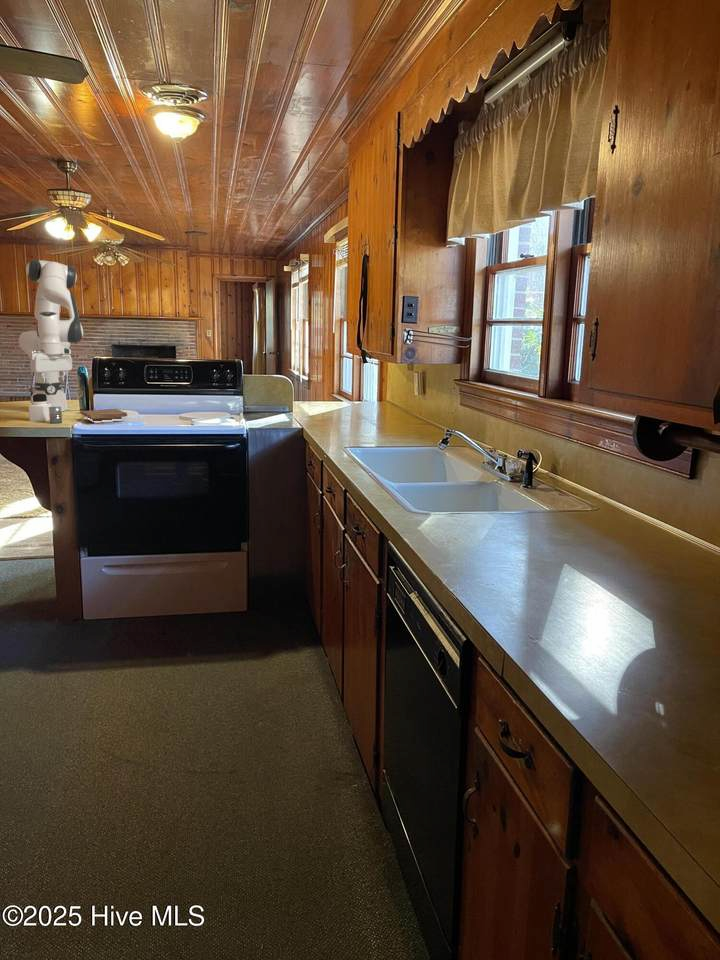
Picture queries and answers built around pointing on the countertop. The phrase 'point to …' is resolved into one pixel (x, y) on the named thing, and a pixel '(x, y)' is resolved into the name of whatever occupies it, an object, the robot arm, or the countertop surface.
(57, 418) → the grey metal cylinder
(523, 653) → the countertop surface
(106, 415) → the walnut stand
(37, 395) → the medicine bottle
